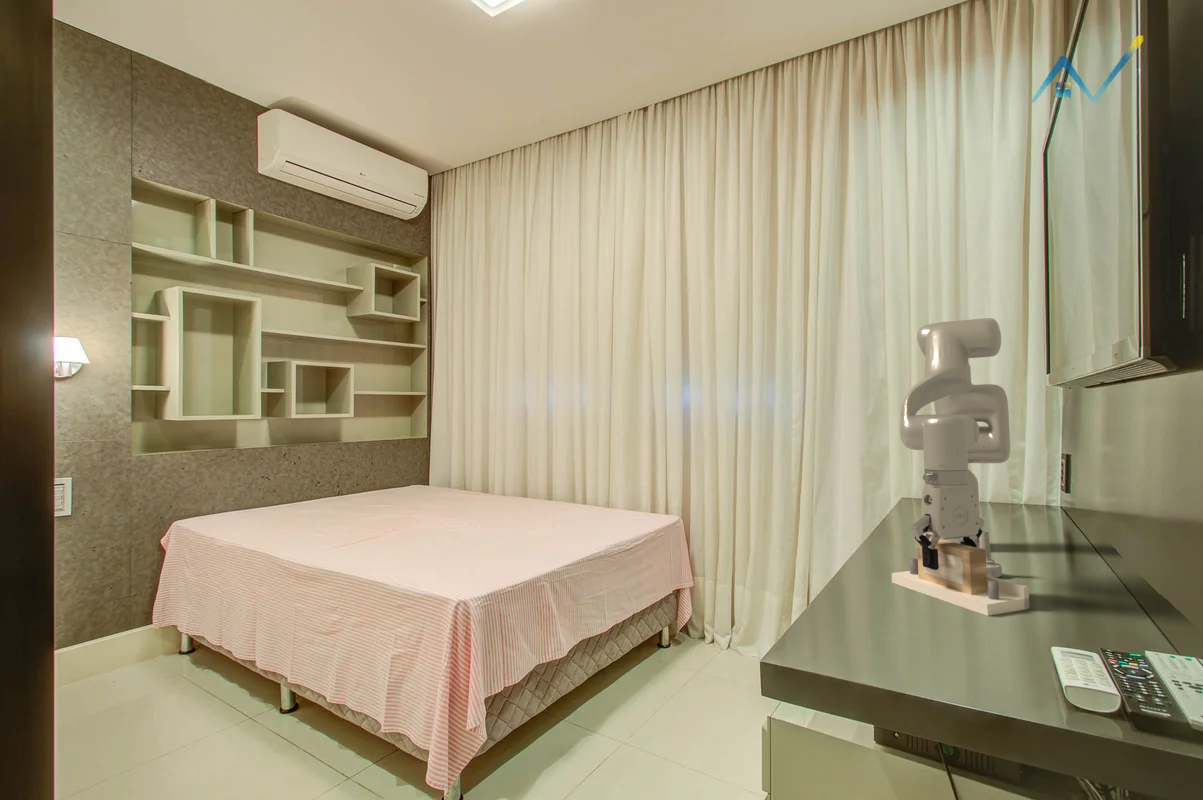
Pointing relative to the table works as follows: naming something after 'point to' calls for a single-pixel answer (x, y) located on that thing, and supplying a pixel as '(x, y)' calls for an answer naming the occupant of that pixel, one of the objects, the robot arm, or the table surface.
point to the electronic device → (989, 556)
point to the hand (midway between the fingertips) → (950, 565)
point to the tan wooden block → (957, 567)
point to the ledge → (995, 601)
